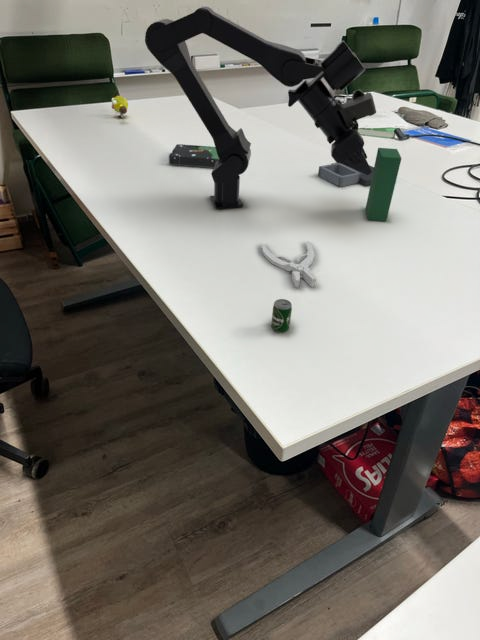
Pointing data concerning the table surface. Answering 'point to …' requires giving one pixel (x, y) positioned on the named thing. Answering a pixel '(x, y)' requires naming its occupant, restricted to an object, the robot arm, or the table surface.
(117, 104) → the toy figure
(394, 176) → the green rectangular block
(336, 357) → the table surface
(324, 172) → the compartment tray
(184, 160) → the disk drive
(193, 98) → the robot arm
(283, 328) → the beer can
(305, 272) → the pliers
